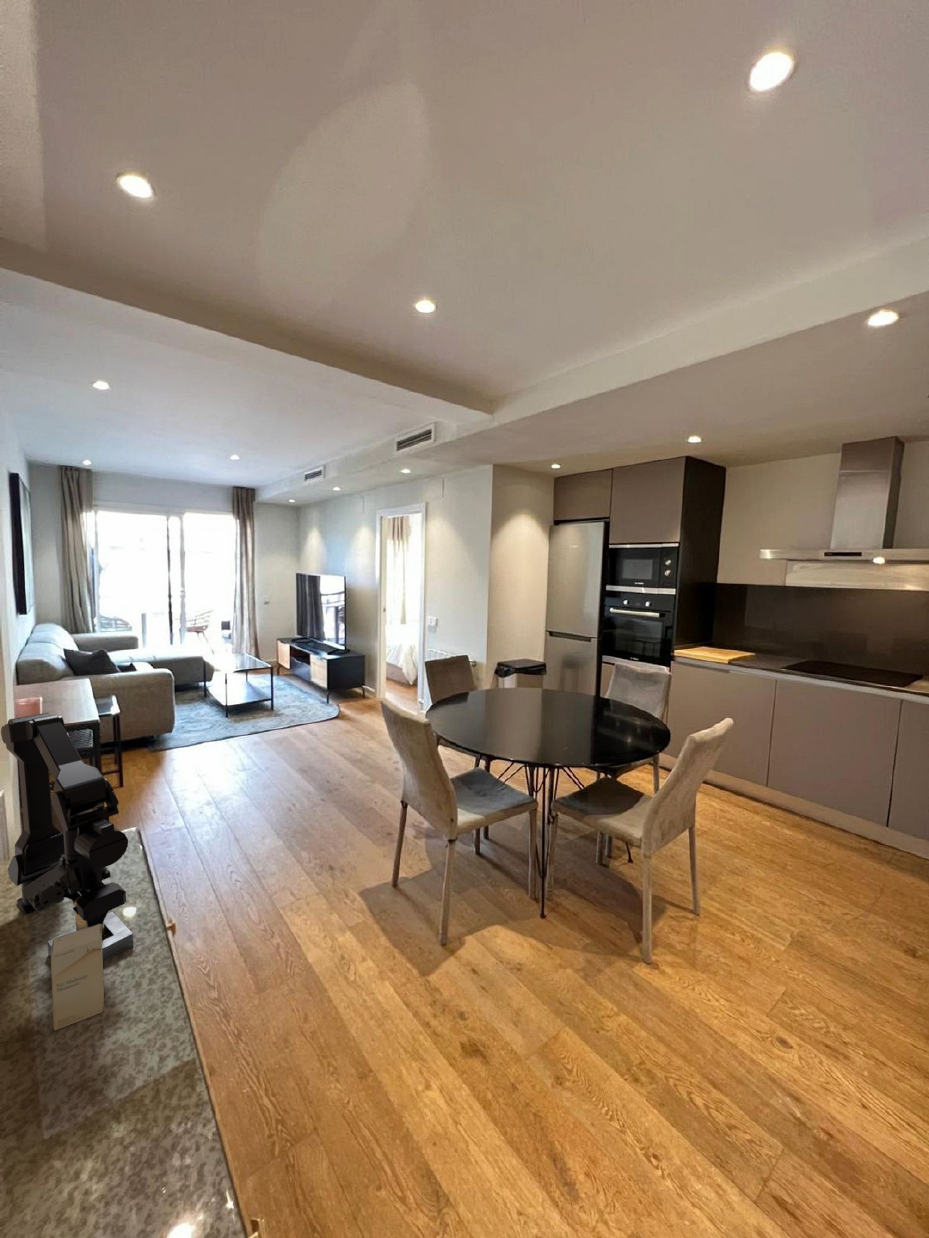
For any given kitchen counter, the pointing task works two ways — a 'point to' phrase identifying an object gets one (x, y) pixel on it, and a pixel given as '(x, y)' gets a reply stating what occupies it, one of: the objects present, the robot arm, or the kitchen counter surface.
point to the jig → (110, 937)
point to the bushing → (84, 922)
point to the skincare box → (77, 976)
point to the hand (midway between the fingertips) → (90, 929)
